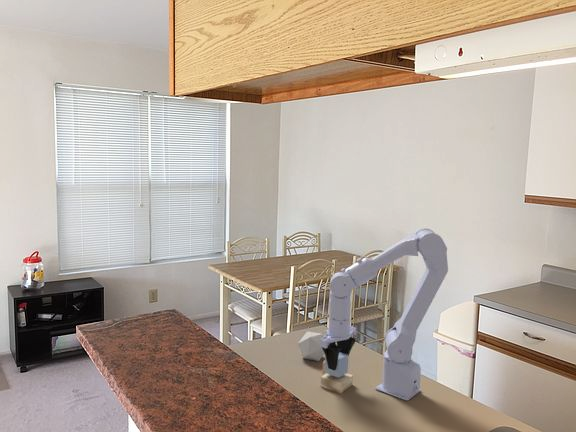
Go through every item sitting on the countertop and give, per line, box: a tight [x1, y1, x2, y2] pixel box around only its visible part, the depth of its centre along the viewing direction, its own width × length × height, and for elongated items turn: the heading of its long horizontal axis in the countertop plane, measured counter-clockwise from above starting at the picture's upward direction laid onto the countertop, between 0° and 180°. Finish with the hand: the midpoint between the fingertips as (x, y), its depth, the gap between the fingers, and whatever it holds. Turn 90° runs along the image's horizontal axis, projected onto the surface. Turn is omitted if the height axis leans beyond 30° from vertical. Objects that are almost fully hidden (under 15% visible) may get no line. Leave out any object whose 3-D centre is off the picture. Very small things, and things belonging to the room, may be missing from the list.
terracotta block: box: [321, 359, 326, 376], centre depth 138 cm, size 4×4×4 cm
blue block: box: [324, 352, 350, 378], centre depth 131 cm, size 4×4×5 cm
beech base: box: [320, 373, 354, 394], centre depth 131 cm, size 6×6×3 cm
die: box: [297, 331, 325, 362], centre depth 149 cm, size 8×9×10 cm
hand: (337, 366), depth 131 cm, fingers closed on blue block, 4 cm apart
